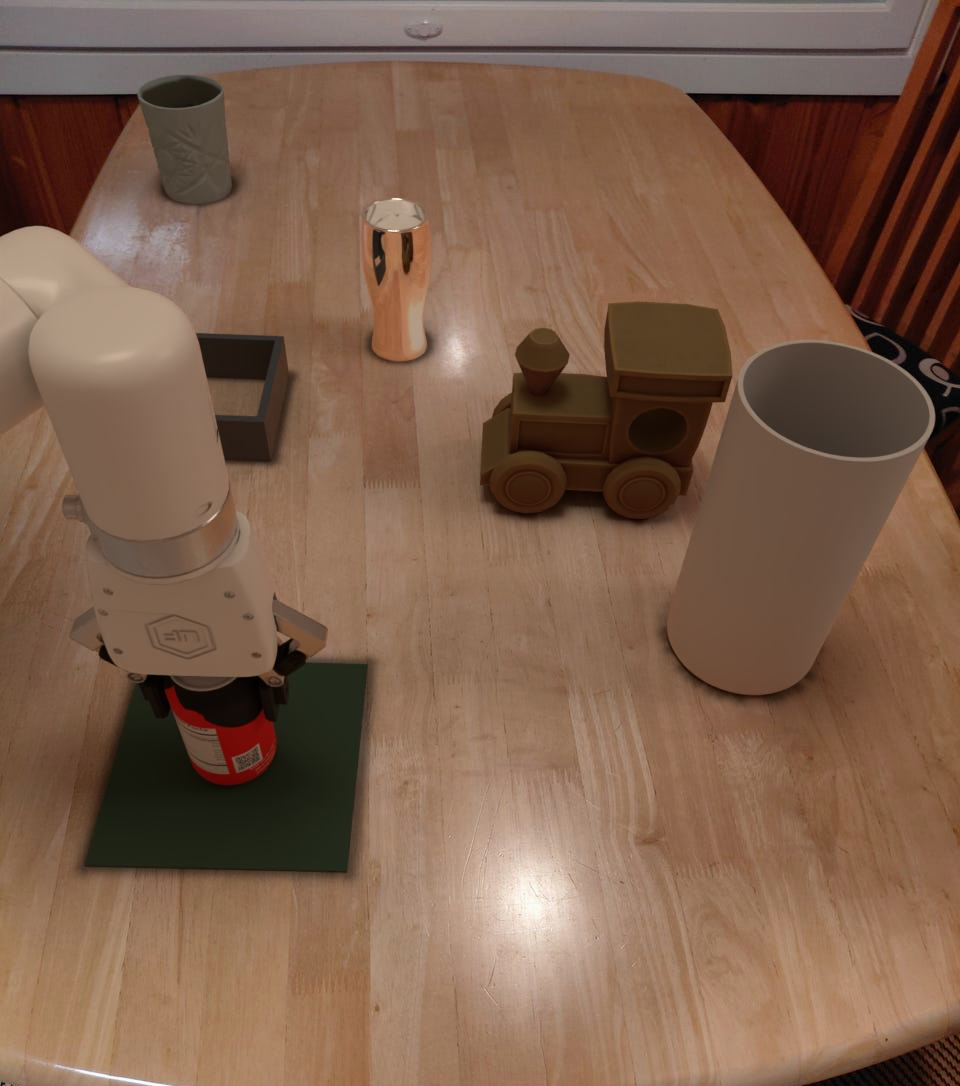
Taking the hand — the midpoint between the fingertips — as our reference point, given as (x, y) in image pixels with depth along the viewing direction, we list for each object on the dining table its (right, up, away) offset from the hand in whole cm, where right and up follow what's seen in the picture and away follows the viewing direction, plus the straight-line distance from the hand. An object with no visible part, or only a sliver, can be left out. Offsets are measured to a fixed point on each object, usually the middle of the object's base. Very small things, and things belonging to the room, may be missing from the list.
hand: (220, 701), depth 66 cm
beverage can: (0, -4, +6) cm, 7 cm away
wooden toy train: (+28, +19, +27) cm, 43 cm away
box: (-9, +27, +31) cm, 42 cm away
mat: (0, -5, +6) cm, 8 cm away
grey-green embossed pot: (-19, +63, +59) cm, 88 cm away
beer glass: (+9, +36, +39) cm, 54 cm away
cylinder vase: (+40, +4, +15) cm, 43 cm away
